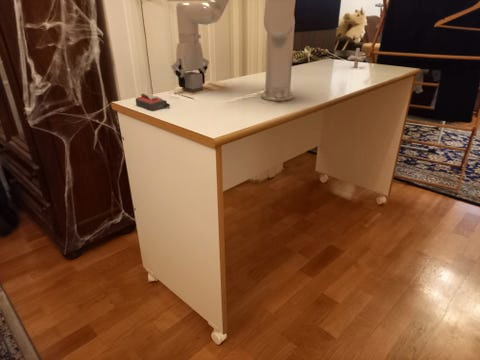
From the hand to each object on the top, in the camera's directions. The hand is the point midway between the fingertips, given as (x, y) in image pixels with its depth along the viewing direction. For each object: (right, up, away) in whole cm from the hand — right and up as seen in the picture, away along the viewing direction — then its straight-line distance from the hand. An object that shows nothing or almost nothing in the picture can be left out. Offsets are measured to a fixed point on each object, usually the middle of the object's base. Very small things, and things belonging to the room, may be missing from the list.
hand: (192, 85), depth 139 cm
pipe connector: (+81, +23, +50) cm, 98 cm away
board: (+4, -1, +5) cm, 7 cm away
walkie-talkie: (-14, -10, -11) cm, 21 cm away
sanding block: (0, -2, +1) cm, 2 cm away
